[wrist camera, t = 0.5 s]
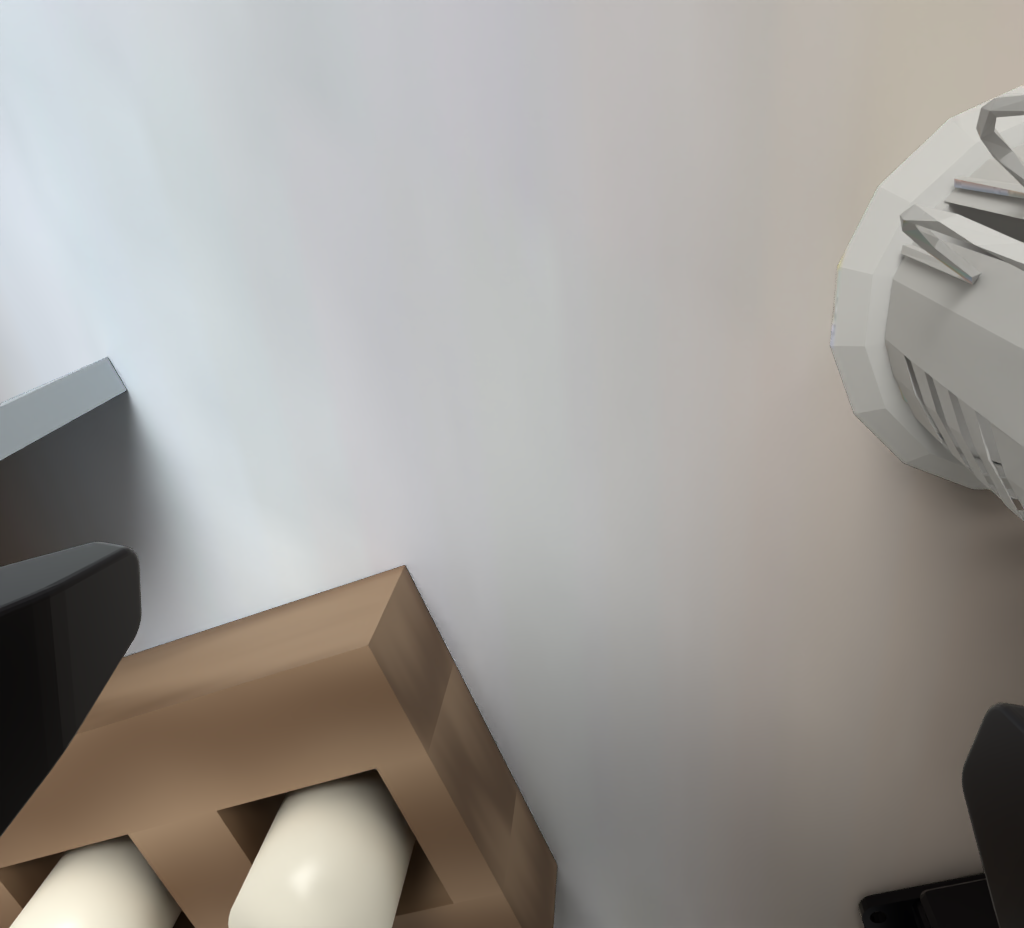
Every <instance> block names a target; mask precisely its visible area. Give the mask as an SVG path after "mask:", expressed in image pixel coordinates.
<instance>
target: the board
mask: <svg viewBox="0 0 1024 928" xmlns="http://www.w3.org/2000/svg"><path fill="white" fill-rule="evenodd" d="M372 769H377V771H378V772H379V774H380V776H381V778H382V779H383V781H384V783H385V784H386V786H387V788H388V790H389V791H390V793H391V795H392V797H393V798H394V800H395V802H396V804H397V805H398V807H399V809H400V811H401V812H402V814H403V816H404V818H405V819H406V821H407V823H408V825H409V826H410V828H411V830H412V832H413V833H414V835H415V837H416V840H415V843H414V847H413V851H412V854H411V858H410V862H409V866H408V869H407V873H406V877H405V881H404V884H403V888H402V892H401V896H400V899H399V903H398V907H397V911H396V914H395V918H394V922H393V925H392V928H553V924H554V909H555V894H556V879H557V864H556V862H555V860H554V858H553V856H552V854H551V852H550V850H549V848H548V846H547V844H546V842H545V840H544V838H543V836H542V834H541V832H540V830H539V828H538V826H537V824H536V822H535V820H534V818H533V816H532V814H531V812H530V811H529V809H528V807H527V805H526V803H525V801H524V799H523V797H522V795H521V793H520V791H519V789H518V787H517V785H516V783H515V781H514V779H513V777H512V775H511V773H510V771H509V769H508V767H507V765H506V763H505V761H504V759H503V757H502V755H501V753H500V751H499V749H498V748H497V746H496V744H495V742H494V740H493V738H492V736H491V734H490V732H489V730H488V728H487V726H486V724H485V722H484V720H483V718H482V716H481V714H480V712H479V710H478V708H477V706H476V704H475V702H474V700H473V698H472V696H471V694H470V692H469V690H468V688H467V686H466V685H465V683H464V681H463V679H462V677H461V675H460V673H459V671H458V669H457V667H456V665H455V663H454V661H453V659H452V657H451V655H450V653H449V651H448V649H447V647H446V645H445V643H444V641H443V639H442V637H441V635H440V633H439V631H438V629H437V627H436V625H435V623H434V622H433V620H432V618H431V616H430V614H429V612H428V610H427V608H426V606H425V604H424V602H423V600H422V598H421V596H420V594H419V592H418V590H417V588H416V586H415V584H414V582H413V580H412V578H411V576H410V574H409V572H408V570H407V568H406V566H405V565H404V566H401V567H397V568H394V569H391V570H388V571H385V572H382V573H379V574H376V575H373V576H370V577H367V578H364V579H361V580H358V581H355V582H352V583H349V584H346V585H343V586H339V587H336V588H333V589H330V590H327V591H324V592H321V593H318V594H315V595H312V596H309V597H306V598H303V599H300V600H297V601H294V602H291V603H288V604H285V605H282V606H278V607H275V608H272V609H269V610H266V611H263V612H260V613H257V614H254V615H251V616H248V617H245V618H242V619H239V620H236V621H233V622H230V623H227V624H224V625H220V626H217V627H214V628H211V629H208V630H205V631H202V632H199V633H196V634H193V635H190V636H187V637H184V638H181V639H178V640H175V641H172V642H169V643H166V644H163V645H159V646H156V647H153V648H150V649H147V650H144V651H141V652H138V653H135V654H132V655H129V656H126V657H123V658H122V659H121V661H120V663H119V664H118V666H117V668H116V669H115V671H114V673H113V674H112V676H111V678H110V679H109V681H108V682H107V684H106V686H105V687H104V689H103V691H102V692H101V694H100V696H99V697H98V699H97V701H96V702H95V704H94V706H93V707H92V709H91V710H90V712H89V714H88V715H87V717H86V719H85V720H84V722H83V724H82V725H81V727H80V729H79V730H78V732H77V734H76V735H75V737H74V738H73V740H72V741H71V743H70V744H69V746H68V747H67V749H66V750H65V752H64V753H63V755H62V756H61V758H60V759H59V760H58V762H57V763H56V764H55V766H54V767H53V769H52V770H51V771H50V773H49V774H48V775H47V777H46V778H45V779H44V781H43V782H42V783H41V785H40V786H39V787H38V789H37V790H36V791H35V792H34V794H33V795H32V796H31V798H30V799H29V800H28V802H27V803H26V804H25V806H24V807H23V808H22V810H21V811H20V812H19V813H18V815H17V816H16V817H15V819H14V820H13V821H12V823H11V824H10V825H9V827H8V828H7V829H6V831H5V832H4V833H3V835H2V836H1V837H0V928H9V927H10V926H11V925H12V923H13V922H14V921H15V919H16V918H17V917H18V915H19V914H20V913H21V911H22V910H23V909H24V907H25V906H26V905H27V903H28V902H29V901H30V899H31V898H32V897H33V895H34V894H35V892H36V891H37V890H38V888H39V887H40V886H41V884H42V883H43V882H44V880H45V879H46V878H47V876H48V875H49V874H50V872H51V871H52V870H53V868H54V867H55V866H56V864H57V863H58V862H59V860H60V859H61V857H62V856H63V855H64V853H65V852H66V851H67V850H71V849H74V848H78V847H82V846H86V845H89V844H93V843H97V842H101V841H104V840H108V839H112V838H116V837H120V836H123V835H127V834H128V835H129V837H130V838H131V839H132V841H133V842H134V844H135V845H136V846H137V848H138V849H139V851H140V852H141V853H142V855H143V856H144V857H145V859H146V860H147V862H148V863H149V864H150V866H151V867H152V869H153V870H154V871H155V873H156V874H157V876H158V877H159V878H160V880H161V881H162V883H163V884H164V885H165V887H166V888H167V889H168V891H169V892H170V894H171V895H172V896H173V898H174V899H175V901H176V902H177V903H178V905H179V906H180V908H181V909H182V911H181V913H180V915H179V917H178V918H177V920H176V922H175V924H174V926H173V928H229V927H228V921H229V915H230V911H231V908H232V906H233V904H234V902H235V900H236V898H237V896H238V894H239V892H240V890H241V888H242V885H243V883H244V881H245V879H246V877H247V875H248V873H249V871H250V869H251V867H252V865H253V863H254V860H255V858H256V856H257V854H258V852H259V850H260V848H261V846H262V844H263V842H264V840H265V837H266V835H267V833H268V831H269V829H270V827H271V825H272V823H273V821H274V819H275V817H276V814H277V812H278V810H279V808H280V806H281V804H282V802H283V800H284V798H285V796H286V794H287V792H289V791H293V790H297V789H300V788H304V787H308V786H312V785H315V784H319V783H323V782H327V781H330V780H334V779H338V778H342V777H345V776H349V775H353V774H357V773H361V772H364V771H368V770H372Z"/></svg>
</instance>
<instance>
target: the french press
mask: <svg viewBox="0 0 1024 928" xmlns="http://www.w3.org/2000/svg"><path fill="white" fill-rule="evenodd" d="M830 347H831V350H832V352H833V355H834V358H835V361H836V364H837V367H838V370H839V372H840V375H841V378H842V381H843V384H844V387H845V390H846V392H847V395H848V398H849V401H850V404H851V407H852V410H853V412H854V414H855V415H856V416H857V417H858V418H859V419H860V420H861V421H862V422H863V423H864V424H865V425H866V426H867V427H868V428H869V429H870V430H871V431H872V432H873V433H874V434H875V435H876V436H877V437H878V438H879V439H880V440H881V441H882V442H883V443H884V444H885V445H886V446H887V447H888V448H889V449H890V450H891V451H892V452H893V453H894V454H895V455H896V456H897V457H898V458H899V459H900V460H901V461H902V462H903V463H904V464H907V465H909V466H912V467H915V468H917V469H920V470H923V471H925V472H928V473H931V474H933V475H936V476H939V477H941V478H944V479H947V480H949V481H952V482H954V483H957V484H960V485H962V486H965V487H968V488H970V489H990V490H991V491H992V492H993V493H994V494H995V495H996V496H997V497H998V498H1000V499H1001V500H1002V501H1003V502H1004V504H1005V505H1006V506H1007V507H1008V508H1009V509H1010V510H1011V511H1012V512H1013V513H1014V514H1016V515H1017V516H1018V517H1019V518H1020V519H1021V520H1022V521H1023V522H1024V510H1017V508H1016V506H1015V505H1014V503H1013V501H1012V499H1016V500H1019V502H1020V503H1021V505H1022V507H1023V509H1024V85H1022V86H1019V87H1017V88H1015V89H1013V90H1011V91H1008V92H1006V93H1004V94H1002V95H999V96H997V97H995V98H993V99H991V100H988V101H986V102H984V103H982V104H980V105H977V106H975V107H973V108H971V109H969V110H966V111H964V112H962V113H960V114H958V115H955V116H953V117H951V118H949V119H948V120H947V121H946V122H945V123H944V124H943V125H942V126H941V127H940V128H939V129H938V130H937V131H936V132H935V133H933V134H932V135H931V136H930V137H929V138H928V139H927V140H926V141H925V142H924V143H923V144H922V145H921V146H920V147H919V148H918V149H917V150H916V151H915V152H913V153H912V154H911V155H910V156H909V157H908V158H907V159H906V160H905V161H904V162H903V163H902V164H901V165H900V166H899V167H898V168H897V169H896V170H895V171H893V172H892V173H891V174H890V175H889V176H888V177H887V178H886V179H885V180H884V181H883V182H882V183H881V184H880V185H879V186H878V188H877V189H876V191H875V193H874V195H873V197H872V199H871V201H870V203H869V205H868V207H867V209H866V211H865V213H864V215H863V217H862V219H861V221H860V223H859V225H858V227H857V229H856V231H855V233H854V235H853V237H852V239H851V241H850V243H849V245H848V247H847V248H846V250H845V252H844V254H843V256H842V258H841V260H840V262H839V264H838V266H837V277H836V288H835V299H834V309H833V320H832V331H831V342H830Z"/></svg>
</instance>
